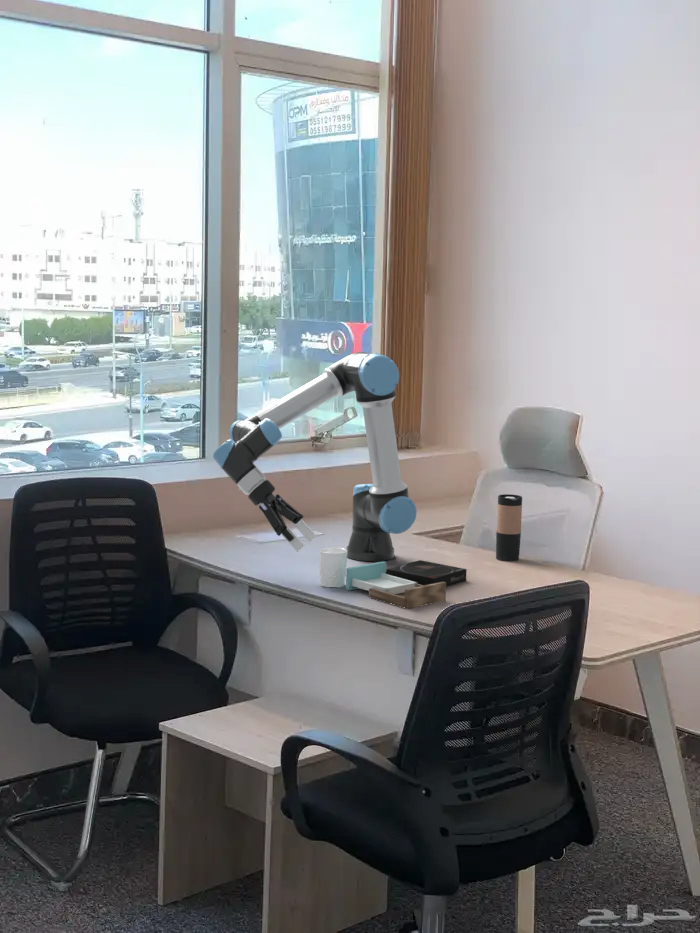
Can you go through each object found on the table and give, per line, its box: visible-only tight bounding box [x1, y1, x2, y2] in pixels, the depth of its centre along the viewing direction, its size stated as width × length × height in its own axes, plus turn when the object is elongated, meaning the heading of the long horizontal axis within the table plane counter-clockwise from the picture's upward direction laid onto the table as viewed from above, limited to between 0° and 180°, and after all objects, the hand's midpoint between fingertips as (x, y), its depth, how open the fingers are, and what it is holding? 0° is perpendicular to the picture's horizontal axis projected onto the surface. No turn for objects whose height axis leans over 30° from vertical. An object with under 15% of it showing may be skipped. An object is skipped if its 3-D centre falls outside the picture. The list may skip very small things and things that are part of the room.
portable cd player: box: [386, 559, 467, 588], centre depth 335 cm, size 16×17×4 cm
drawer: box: [368, 582, 447, 610], centre depth 314 cm, size 14×15×5 cm
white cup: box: [318, 547, 348, 588], centre depth 327 cm, size 8×8×10 cm
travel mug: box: [495, 493, 523, 562], centre depth 366 cm, size 8×8×20 cm
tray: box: [345, 560, 417, 594], centre depth 321 cm, size 14×15×6 cm
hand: (307, 543), depth 327 cm, fingers open, 13 cm apart
